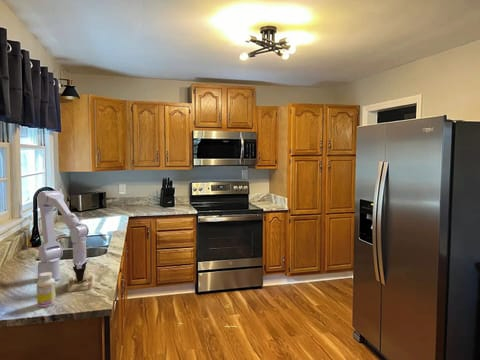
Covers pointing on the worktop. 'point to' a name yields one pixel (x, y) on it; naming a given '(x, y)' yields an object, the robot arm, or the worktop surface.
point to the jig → (80, 284)
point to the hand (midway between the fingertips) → (80, 279)
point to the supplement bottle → (46, 290)
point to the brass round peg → (80, 281)
